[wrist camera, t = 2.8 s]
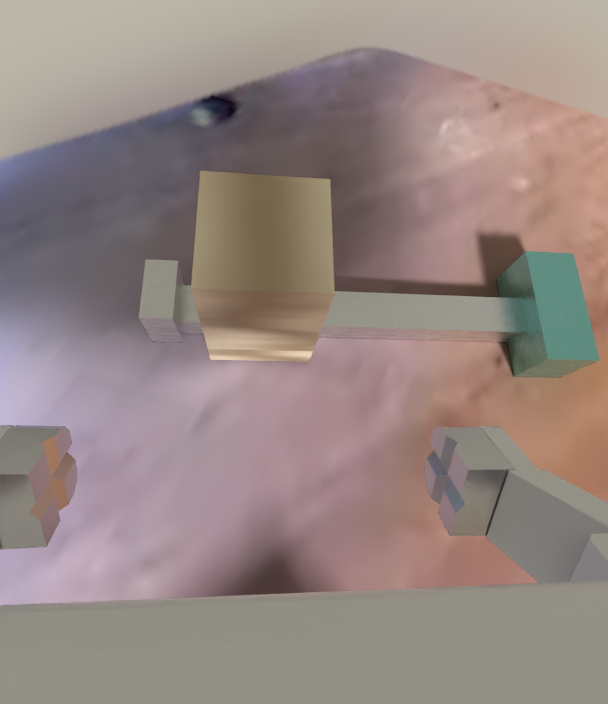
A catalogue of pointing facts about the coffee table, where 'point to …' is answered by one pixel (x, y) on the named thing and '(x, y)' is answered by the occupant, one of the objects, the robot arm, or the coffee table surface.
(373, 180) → the coffee table surface
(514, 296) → the rail
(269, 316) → the beige slider block
